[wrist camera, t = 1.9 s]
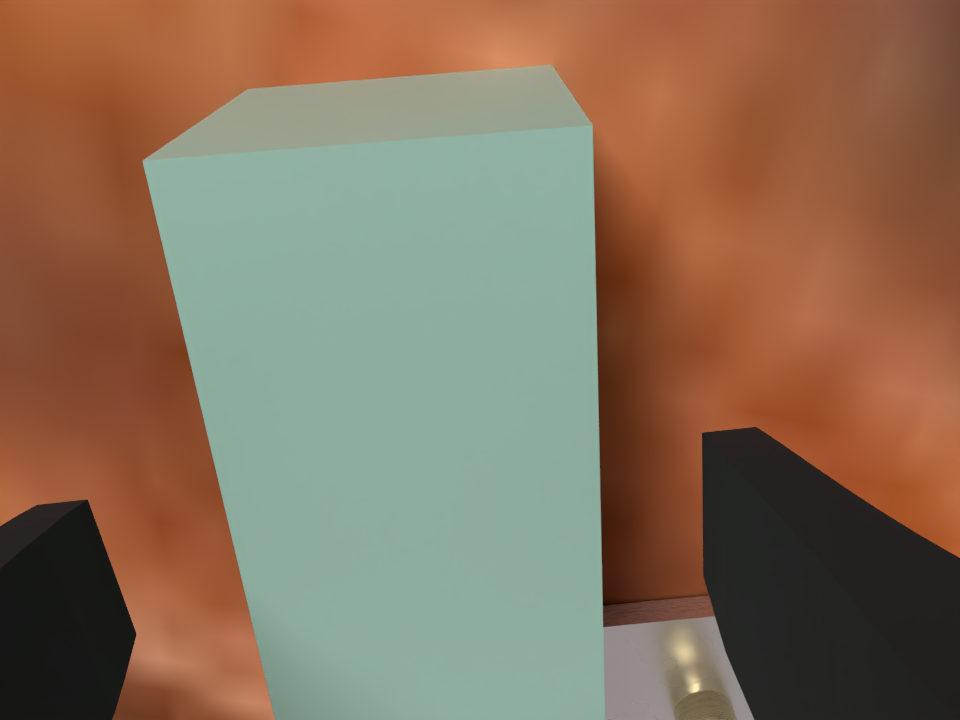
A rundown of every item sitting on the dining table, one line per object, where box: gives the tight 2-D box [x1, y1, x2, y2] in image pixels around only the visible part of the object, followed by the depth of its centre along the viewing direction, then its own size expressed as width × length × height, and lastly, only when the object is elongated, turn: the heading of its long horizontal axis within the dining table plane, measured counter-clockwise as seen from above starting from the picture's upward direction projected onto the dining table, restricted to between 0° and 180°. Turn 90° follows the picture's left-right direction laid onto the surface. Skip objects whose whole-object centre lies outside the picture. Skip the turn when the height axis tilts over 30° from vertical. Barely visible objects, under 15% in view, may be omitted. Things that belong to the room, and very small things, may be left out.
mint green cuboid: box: [143, 65, 605, 720], centre depth 13 cm, size 5×9×5 cm, turn 4°
